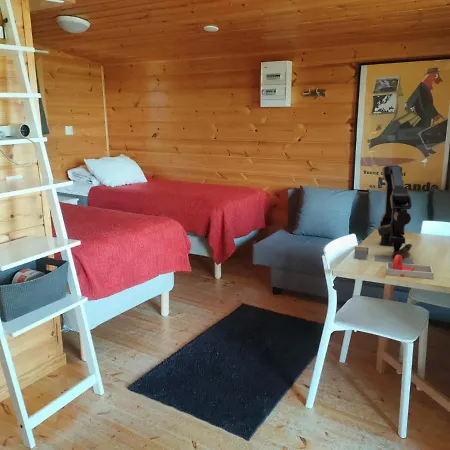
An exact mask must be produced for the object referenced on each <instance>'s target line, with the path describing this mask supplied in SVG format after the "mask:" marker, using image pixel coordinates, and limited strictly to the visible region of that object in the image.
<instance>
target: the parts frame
mask: <svg viewBox="0 0 450 450" xmlns="http://www.w3.org/2000/svg"><path fill="white" fill-rule="evenodd" d="M385 268H386V275H387V276H399V277H401V276H400V274H401V275H404V277H406V278H419V279H431V280H434V271H433V267H432V265H425V264H424V265H423V264H415V263H414V264H406V263H402V268H406V269H410V268H412V269H414V270H413V271H406V270H394V269H393V262H386V267H385Z"/></svg>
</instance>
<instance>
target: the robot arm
mask: <svg viewBox="0 0 450 450" xmlns="http://www.w3.org/2000/svg"><path fill="white" fill-rule="evenodd" d="M381 173H382V177H383V180H384V182H385V199H384V200H385V202H384V212H383V214H382V215H381V216H380V220H379V221H378V222H379V223H378V226H377V233H378V235H379V236H380V240H379V246H389V247H393V252H396V251H399V250H400V249H402V248H401V247H402V246H403V245H404V244H405V245H406V236H405V230H406V228H405V227H406V225H408V224H409V223H410V222H411V220H412V217H411V214H410V213H409V211H408V210H411V209H412V205H413V203H412V198H411V195H410V194H409V191H408V189H406V188H405V186H404V183H403V182H404V181H403V166H400V165H399V164H396V165H395V164H385V165H384V166H383V167H382V170H381Z"/></svg>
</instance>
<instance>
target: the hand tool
mask: <svg viewBox="0 0 450 450" xmlns="http://www.w3.org/2000/svg"><path fill="white" fill-rule="evenodd" d="M412 246H413V245H412V244H411V243H407V244H406V243H405V245H404V246H403V247H402V248H400V249H399V251H396V252H394V251H393V252H394V253H392V255H391V257H392V258H393V259H394V258H395V256H396V255H401V256H402V258H405V256H406V255H407V254H408V252H409V251H410V250H411V249H412Z"/></svg>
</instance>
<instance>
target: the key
mask: <svg viewBox="0 0 450 450" xmlns="http://www.w3.org/2000/svg"><path fill="white" fill-rule="evenodd" d="M356 247H358V248H367V256H368V255H369V247H366V246H354V250H355V249H356Z"/></svg>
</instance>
